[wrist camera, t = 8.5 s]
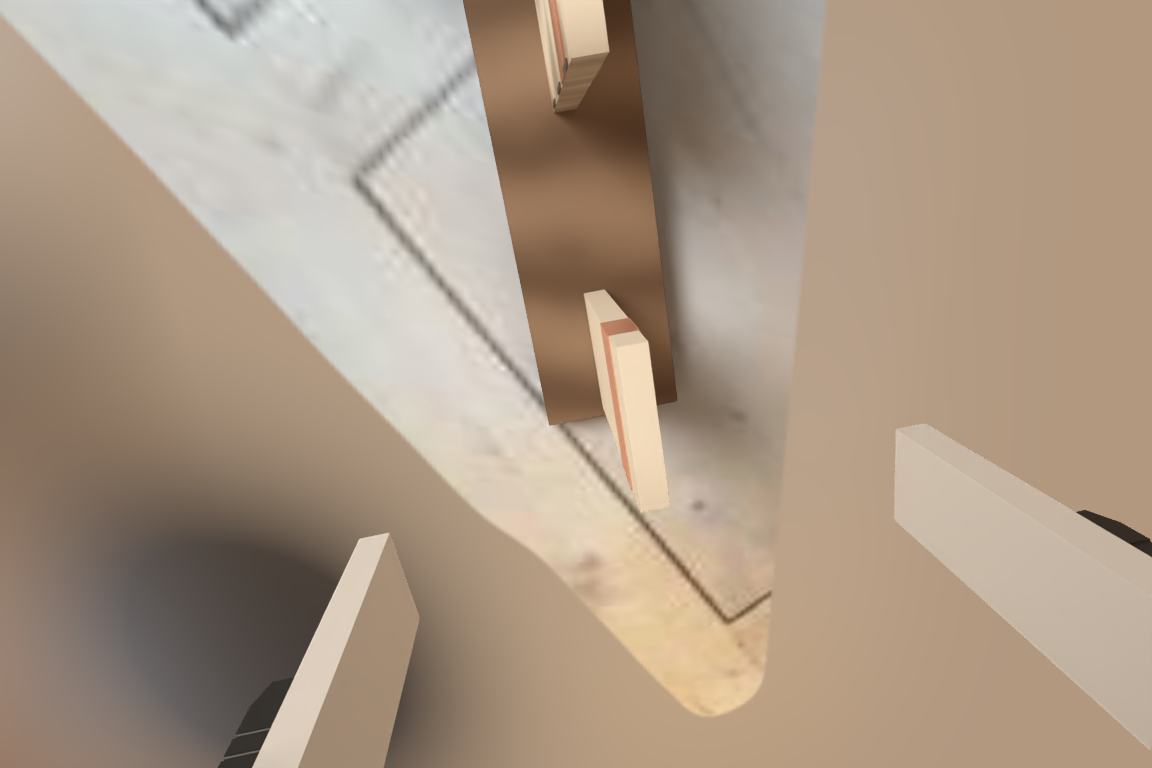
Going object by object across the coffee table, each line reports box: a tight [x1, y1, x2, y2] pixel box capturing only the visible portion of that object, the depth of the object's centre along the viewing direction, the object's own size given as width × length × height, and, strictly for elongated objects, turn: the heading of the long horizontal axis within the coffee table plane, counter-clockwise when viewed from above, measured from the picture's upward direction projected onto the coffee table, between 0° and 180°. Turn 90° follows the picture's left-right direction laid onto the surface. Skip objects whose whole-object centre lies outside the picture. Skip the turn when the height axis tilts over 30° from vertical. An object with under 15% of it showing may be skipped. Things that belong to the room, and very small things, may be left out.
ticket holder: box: [463, 0, 677, 426], centre depth 24 cm, size 32×8×14 cm, turn 10°
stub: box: [584, 289, 670, 512], centre depth 27 cm, size 7×1×12 cm, turn 10°
